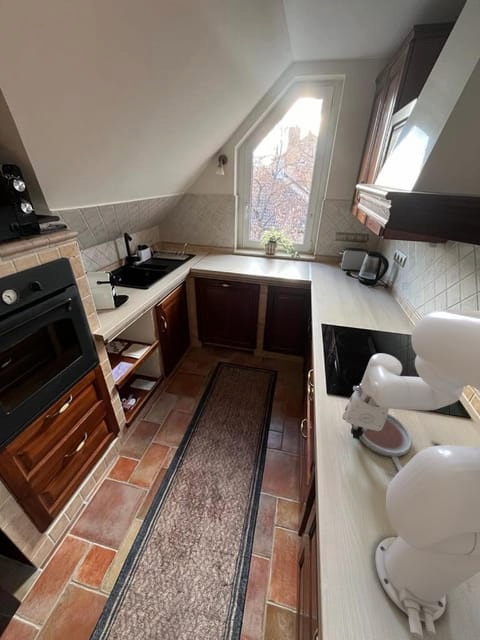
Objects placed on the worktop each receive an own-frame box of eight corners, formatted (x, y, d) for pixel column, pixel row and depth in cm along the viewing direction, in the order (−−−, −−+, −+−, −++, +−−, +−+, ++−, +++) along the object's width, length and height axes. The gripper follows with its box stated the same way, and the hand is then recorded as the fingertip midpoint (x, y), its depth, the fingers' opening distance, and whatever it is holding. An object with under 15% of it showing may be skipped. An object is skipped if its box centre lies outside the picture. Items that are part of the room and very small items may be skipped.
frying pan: (385, 494, 65) (347, 406, 89) (382, 500, 66) (345, 412, 90) (451, 496, 65) (395, 408, 89) (446, 502, 66) (392, 413, 90)
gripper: (345, 396, 69) (330, 438, 79) (405, 412, 66) (382, 453, 75) (344, 378, 76) (330, 418, 85) (399, 391, 72) (379, 432, 81)
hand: (355, 435), depth 80 cm, fingers closed
